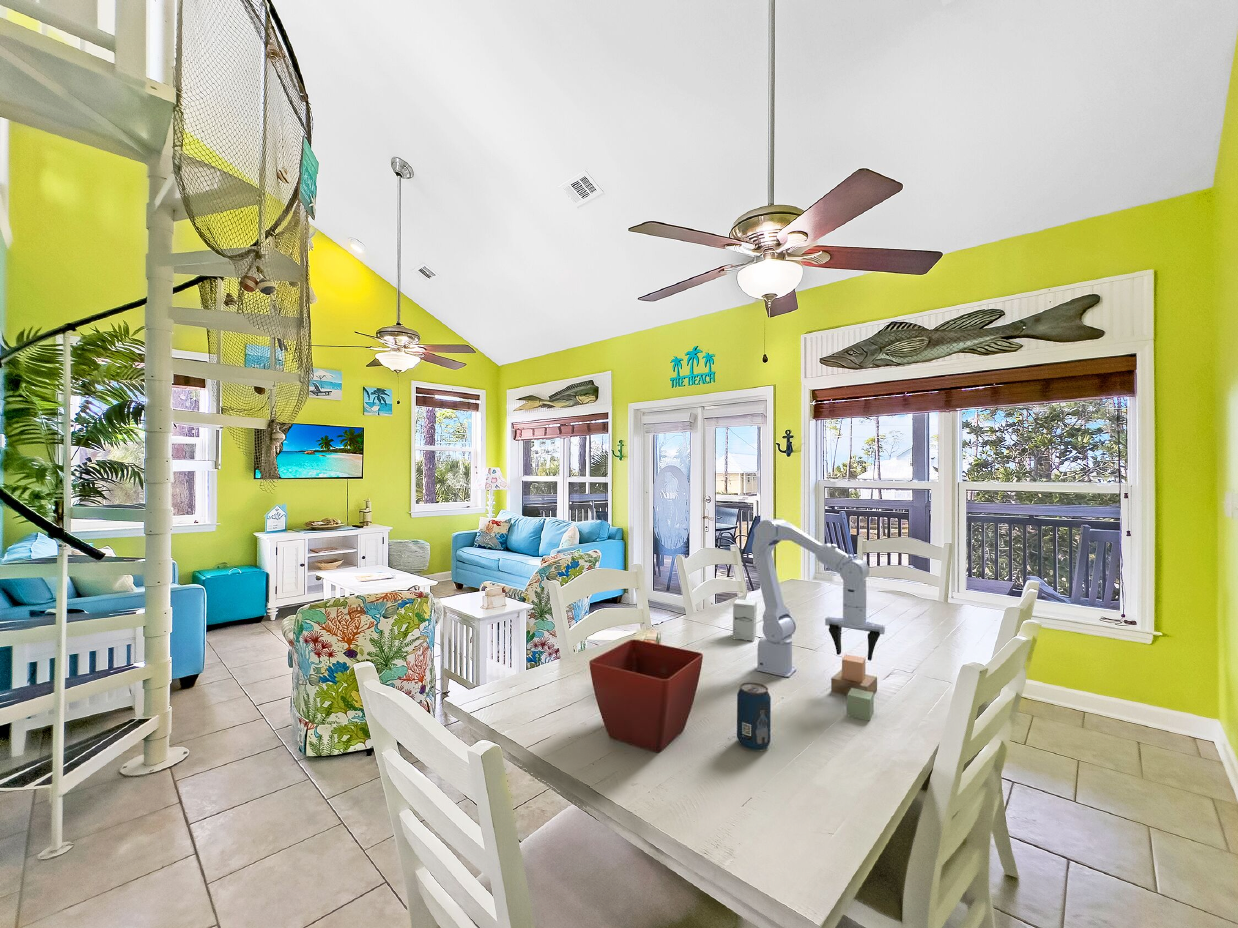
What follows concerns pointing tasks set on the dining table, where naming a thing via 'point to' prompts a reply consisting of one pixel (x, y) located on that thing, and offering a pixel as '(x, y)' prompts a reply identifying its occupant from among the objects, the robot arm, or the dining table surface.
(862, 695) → the green cube
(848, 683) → the walnut block
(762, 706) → the soda can
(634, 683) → the plant pot
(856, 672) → the terracotta cube
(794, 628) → the robot arm
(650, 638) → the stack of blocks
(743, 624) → the supplement box
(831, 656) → the dining table surface
